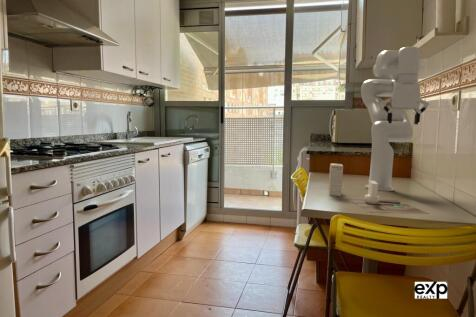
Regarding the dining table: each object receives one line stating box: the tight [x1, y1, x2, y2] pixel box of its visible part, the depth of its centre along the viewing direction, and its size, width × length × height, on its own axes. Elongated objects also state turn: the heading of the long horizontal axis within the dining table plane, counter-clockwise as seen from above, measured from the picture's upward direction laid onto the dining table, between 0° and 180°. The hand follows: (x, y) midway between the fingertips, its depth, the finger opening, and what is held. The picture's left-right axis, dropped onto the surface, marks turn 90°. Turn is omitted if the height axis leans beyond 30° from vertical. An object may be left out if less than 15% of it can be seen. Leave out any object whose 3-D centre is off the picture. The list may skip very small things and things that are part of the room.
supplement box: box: [327, 162, 344, 197], centre depth 145 cm, size 8×5×13 cm, turn 168°
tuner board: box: [343, 196, 430, 215], centre depth 129 cm, size 24×20×1 cm
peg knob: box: [364, 181, 401, 204], centre depth 130 cm, size 12×7×8 cm, turn 79°
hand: (402, 123), depth 143 cm, fingers open, 9 cm apart
